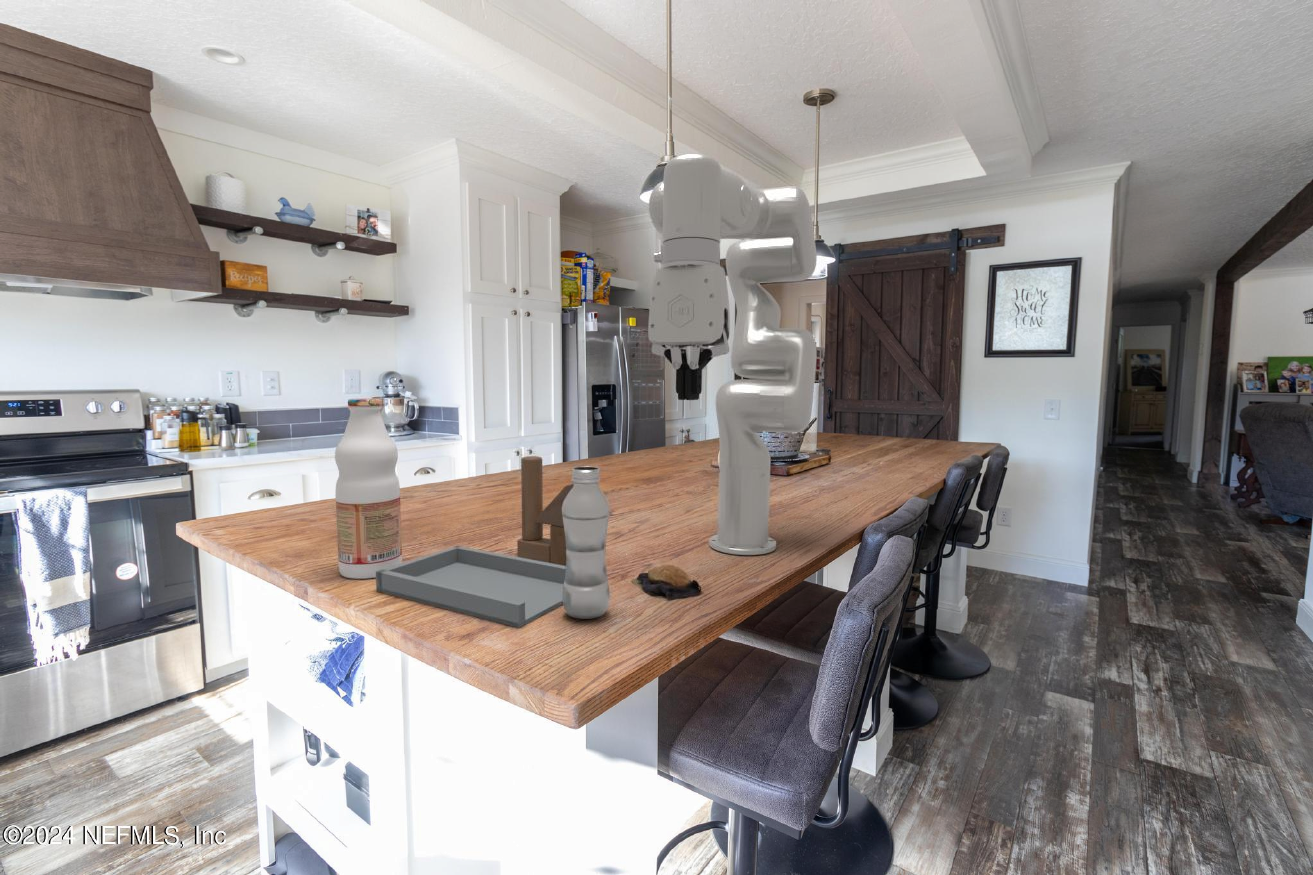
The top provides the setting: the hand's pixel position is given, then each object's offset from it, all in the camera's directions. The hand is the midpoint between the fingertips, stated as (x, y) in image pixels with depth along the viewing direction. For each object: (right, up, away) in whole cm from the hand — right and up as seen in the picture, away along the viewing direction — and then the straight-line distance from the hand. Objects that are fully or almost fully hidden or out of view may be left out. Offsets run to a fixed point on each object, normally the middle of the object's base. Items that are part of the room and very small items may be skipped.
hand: (688, 399), depth 82 cm
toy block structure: (-23, -27, +24) cm, 43 cm away
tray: (-30, -28, +10) cm, 42 cm away
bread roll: (-3, -29, +12) cm, 31 cm away
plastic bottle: (-14, -29, +1) cm, 32 cm away
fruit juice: (-51, -27, +18) cm, 60 cm away
